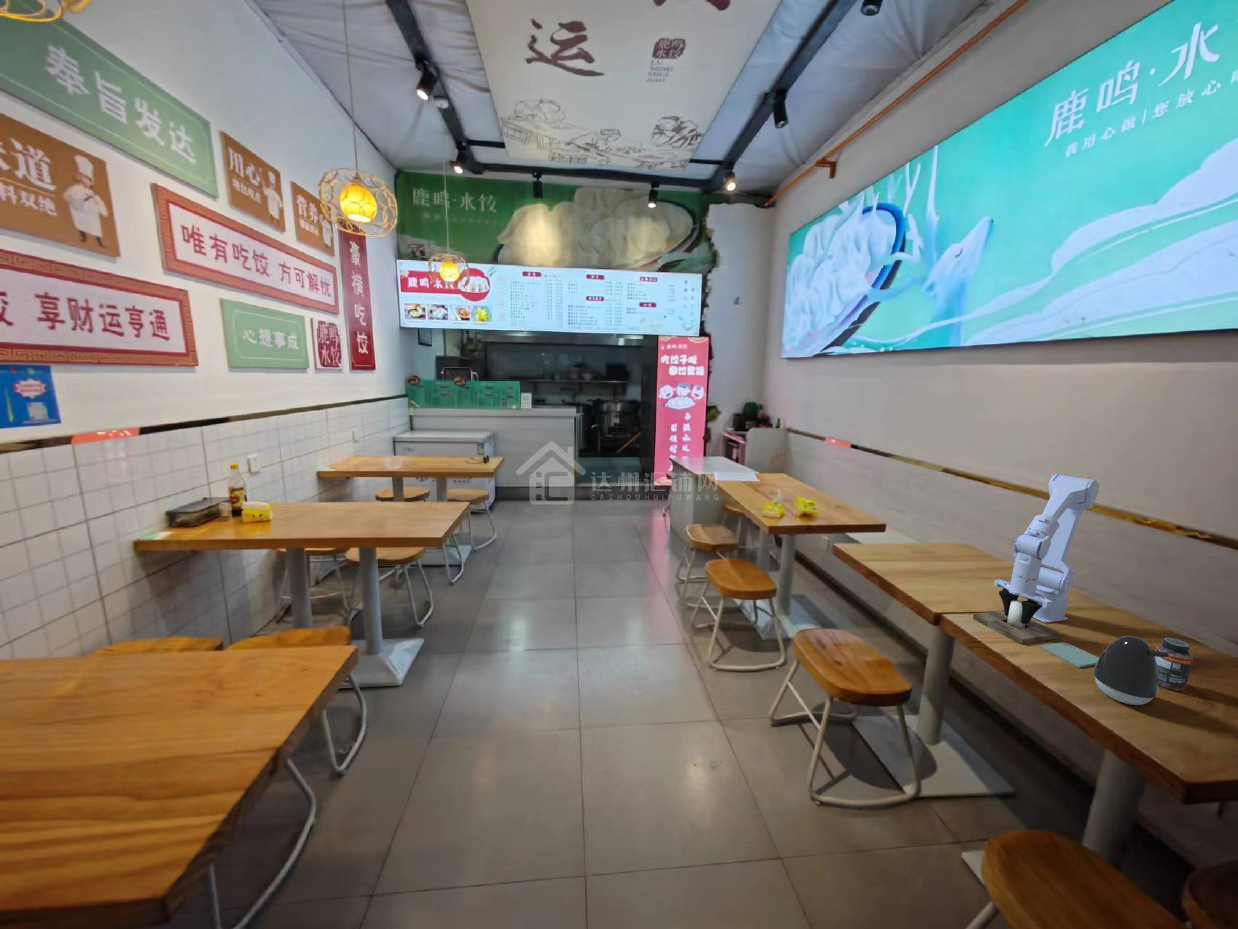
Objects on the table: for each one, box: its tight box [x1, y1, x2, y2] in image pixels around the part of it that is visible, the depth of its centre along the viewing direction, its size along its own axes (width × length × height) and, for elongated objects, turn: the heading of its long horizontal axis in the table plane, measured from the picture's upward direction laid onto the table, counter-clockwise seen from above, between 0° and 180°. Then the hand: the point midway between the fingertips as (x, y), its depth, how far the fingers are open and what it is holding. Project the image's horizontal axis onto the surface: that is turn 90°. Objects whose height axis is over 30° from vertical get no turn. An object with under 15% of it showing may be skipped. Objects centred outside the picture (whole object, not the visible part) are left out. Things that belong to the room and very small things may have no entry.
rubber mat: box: [1040, 641, 1100, 669], centre depth 126 cm, size 9×9×1 cm
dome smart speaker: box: [1092, 635, 1169, 706], centre depth 108 cm, size 10×10×15 cm
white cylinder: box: [1007, 599, 1025, 629], centre depth 138 cm, size 4×4×8 cm
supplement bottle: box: [1154, 637, 1194, 692], centre depth 114 cm, size 6×6×11 cm
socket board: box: [972, 609, 1061, 645], centre depth 139 cm, size 14×14×2 cm
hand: (1016, 619), depth 138 cm, fingers closed on white cylinder, 4 cm apart
